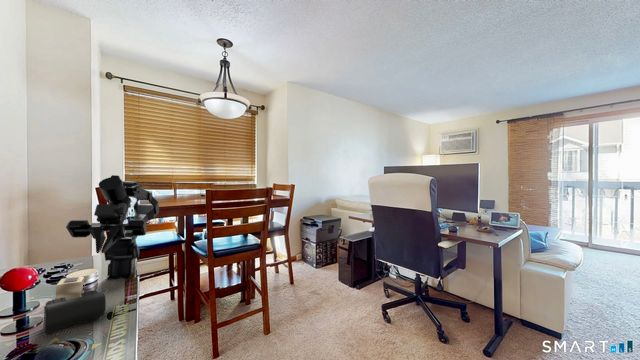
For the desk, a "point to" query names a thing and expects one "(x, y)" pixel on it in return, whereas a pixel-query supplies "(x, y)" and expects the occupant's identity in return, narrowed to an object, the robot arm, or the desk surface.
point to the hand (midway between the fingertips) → (99, 252)
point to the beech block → (70, 288)
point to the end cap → (73, 311)
